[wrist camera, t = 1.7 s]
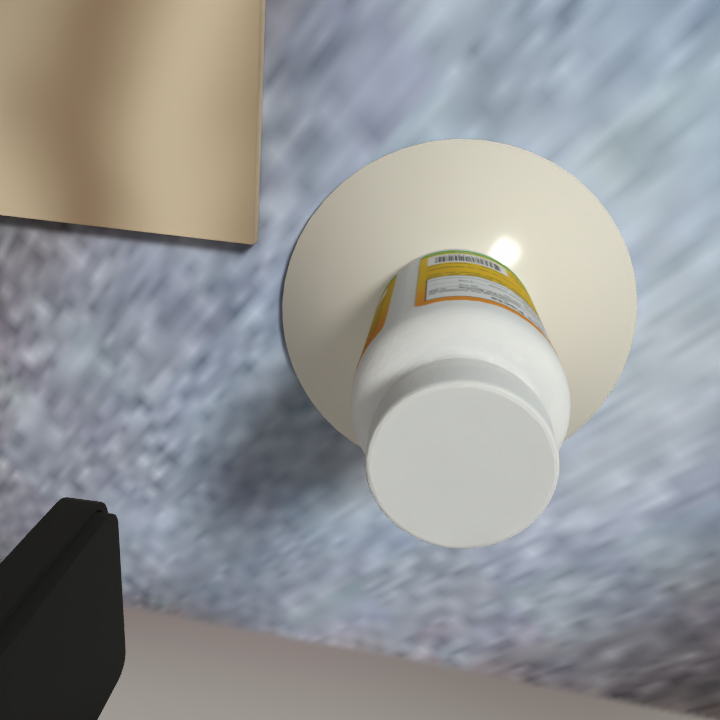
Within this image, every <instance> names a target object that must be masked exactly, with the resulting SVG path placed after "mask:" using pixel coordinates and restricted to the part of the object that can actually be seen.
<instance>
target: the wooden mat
mask: <svg viewBox="0 0 720 720" xmlns="http://www.w3.org/2000/svg"><path fill="white" fill-rule="evenodd" d="M264 30H265V0H0V215H5V216H13V217H22V218H30V219H39V220H47V221H56V222H64V223H73V224H81V225H90V226H98V227H107V228H116V229H124V230H133V231H141V232H150V233H158V234H167V235H175V236H184V237H192V238H201V239H209V240H218V241H226V242H235V243H243V244H252V245H253V244H255V243H256V242H257V241H258V219H259V187H260V156H261V125H262V93H263V62H264Z"/></svg>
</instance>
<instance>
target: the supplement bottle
mask: <svg viewBox="0 0 720 720" xmlns="http://www.w3.org/2000/svg"><path fill="white" fill-rule="evenodd" d="M570 408H571V404H570V392H569V387H568V382H567V379H566V376H565V373H564V369H563V367H562V364H561V362H560V359H559V357H558V355H557V353H556V351H555V349H554V347H553V345H552V343H551V341H550V339H549V337H548V335H547V333H546V330H545V328H544V326H543V324H542V322H541V320H540V318H539V315H538V313H537V311H536V309H535V306H534V304H533V302H532V300H531V298H530V296H529V294H528V292H527V290H526V288H525V287H524V285H523V283H522V282H521V280H520V279H519V278H518V277H517V276H516V274H515V273H514V272H513V271H512V270H511V269H510V268H508V267H507V266H506V265H504V264H503V263H501V262H500V261H498V260H497V259H495V258H493V257H491V256H489V255H486V254H484V253H481V252H477V251H473V250H468V249H443V250H438V251H434V252H430V253H427V254H425V255H422V256H420V257H418V258H416V259H414V260H412V261H411V262H409V263H408V264H407V265H405V266H404V267H403V268H401V269H400V270H399V271H398V272H397V273H396V274H395V275H394V276H393V278H392V279H391V280H390V281H389V283H388V284H387V286H386V287H385V289H384V291H383V293H382V295H381V297H380V299H379V302H378V304H377V307H376V310H375V314H374V317H373V320H372V323H371V327H370V330H369V333H368V336H367V339H366V342H365V345H364V348H363V351H362V354H361V357H360V360H359V362H358V365H357V368H356V372H355V376H354V381H353V386H352V393H351V418H352V424H353V428H354V431H355V434H356V437H357V440H358V443H359V445H360V447H361V449H362V451H363V452H364V454H365V468H366V476H367V481H368V484H369V487H370V490H371V493H372V495H373V497H374V499H375V501H376V503H377V504H378V506H379V507H380V509H381V510H382V511H383V512H384V514H385V515H386V516H387V517H388V518H389V519H390V520H391V521H392V522H393V523H394V524H395V525H396V526H397V527H399V528H400V529H402V530H403V531H405V532H406V533H408V534H410V535H411V536H413V537H416V538H418V539H420V540H422V541H425V542H427V543H431V544H434V545H438V546H443V547H450V548H476V547H483V546H488V545H493V544H496V543H499V542H501V541H504V540H507V539H509V538H511V537H513V536H515V535H516V534H518V533H520V532H521V531H523V530H524V529H525V528H527V527H528V526H529V525H531V524H532V523H533V522H534V521H535V520H536V519H537V518H538V517H539V516H540V515H541V513H542V512H543V511H544V510H545V508H546V507H547V505H548V503H549V502H550V500H551V498H552V496H553V493H554V491H555V488H556V485H557V481H558V475H559V454H558V452H559V450H560V448H561V446H562V444H563V442H564V439H565V436H566V433H567V430H568V426H569V420H570Z"/></svg>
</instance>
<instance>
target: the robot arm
mask: <svg viewBox="0 0 720 720" xmlns="http://www.w3.org/2000/svg"><path fill="white" fill-rule="evenodd" d="M124 661H125V634H124V616H123V599H122V581H121V564H120V546H119V529H118V519H117V517H116V515H114V514H110V513H108V510H107V507H106V505H105V504H104V503H102V502H97V501H90V500H82V499H75V498H68V497H66V498H62V499H61V500H59V501H58V502H57V503H56V504H55V505H54V506H53V507H52V508H51V509H50V510H49V512H48V513H47V514H46V515H45V516H44V517H43V518H42V519H41V520H40V521H39V522H38V523H37V525H36V526H35V527H34V528H33V529H32V530H31V531H30V532H29V533H28V534H27V535H26V536H25V538H24V539H23V540H22V541H21V542H20V543H19V544H18V545H17V546H16V547H15V548H14V549H13V551H12V552H11V553H10V554H9V555H8V556H7V557H6V558H5V559H4V560H3V561H2V562H1V564H0V720H97V719H98V717H99V715H100V714H101V712H102V710H103V708H104V706H105V704H106V702H107V700H108V699H109V697H110V695H111V693H112V691H113V689H114V687H115V685H116V683H117V682H118V680H119V677H120V675H121V672H122V669H123V666H124Z"/></svg>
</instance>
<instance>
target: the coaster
mask: <svg viewBox="0 0 720 720" xmlns="http://www.w3.org/2000/svg"><path fill="white" fill-rule="evenodd" d="M443 249H468V250H473V251H477V252H481V253H484V254H486V255H489V256H491V257H493V258H495V259H497V260H498V261H500V262H501V263H503V264H504V265H506V266H507V267H508V268H510V269H511V270H512V271H513V272H514V273H515V274H516V276H517V277H518V278H519V279H520V280H521V282H522V283H523V285H524V287H525V288H526V290H527V292H528V294H529V296H530V298H531V300H532V302H533V304H534V306H535V309H536V311H537V313H538V315H539V318H540V320H541V322H542V324H543V326H544V328H545V330H546V333H547V335H548V337H549V339H550V341H551V343H552V345H553V347H554V349H555V351H556V353H557V355H558V357H559V359H560V362H561V364H562V367H563V369H564V373H565V376H566V379H567V382H568V387H569V392H570V404H571V408H570V420H569V426H568V430H567V433H566V436H565V439H564V440H566V439H567V438H569V437H570V436H572V435H573V434H574V433H575V432H576V431H577V430H578V429H579V428H581V427H582V426H583V425H584V424H585V423H586V422H587V421H588V420H589V419H590V418H591V417H592V416H593V415H594V414H595V412H596V411H597V410H598V409H599V408H600V407H601V406H602V404H603V403H604V401H605V400H606V398H607V397H608V395H609V394H610V393H611V391H612V390H613V388H614V387H615V385H616V383H617V381H618V379H619V377H620V375H621V373H622V371H623V369H624V367H625V364H626V361H627V358H628V355H629V352H630V349H631V346H632V342H633V337H634V331H635V326H636V314H637V293H636V283H635V276H634V272H633V267H632V263H631V259H630V255H629V253H628V250H627V248H626V245H625V243H624V241H623V238H622V236H621V233H620V231H619V230H618V228H617V226H616V225H615V223H614V221H613V220H612V218H611V216H610V215H609V213H608V212H607V210H606V209H605V208H604V207H603V206H602V204H601V203H600V202H599V201H598V199H597V198H596V197H595V196H594V195H593V193H592V192H590V191H589V190H588V189H587V188H586V187H585V186H584V185H583V184H582V183H581V182H579V181H578V180H577V179H576V178H575V177H574V176H572V175H571V174H569V173H568V172H566V171H565V170H563V169H562V168H560V167H559V166H558V165H556V164H555V163H553V162H551V161H549V160H547V159H545V158H543V157H540V156H538V155H536V154H534V153H532V152H530V151H527V150H524V149H521V148H518V147H514V146H511V145H508V144H504V143H498V142H493V141H487V140H480V139H448V140H439V141H430V142H426V143H422V144H418V145H414V146H409V147H406V148H403V149H401V150H398V151H396V152H393V153H390V154H388V155H385V156H383V157H381V158H379V159H377V160H376V161H374V162H372V163H370V164H368V165H367V166H365V167H363V168H361V169H360V170H359V171H357V172H356V173H355V174H353V175H352V176H351V177H349V178H348V179H347V180H345V181H344V182H343V183H341V184H340V185H339V186H338V187H337V188H336V189H335V190H334V191H333V192H332V193H331V194H330V195H329V196H328V197H327V198H326V199H325V200H324V201H323V203H322V204H321V205H320V207H319V208H318V209H317V211H316V212H315V213H314V214H313V216H312V217H311V218H310V220H309V222H308V223H307V225H306V227H305V229H304V230H303V232H302V234H301V236H300V237H299V239H298V242H297V244H296V247H295V249H294V251H293V254H292V256H291V259H290V262H289V266H288V270H287V274H286V278H285V284H284V292H283V301H282V309H283V328H284V335H285V341H286V346H287V349H288V353H289V356H290V360H291V363H292V366H293V368H294V370H295V372H296V375H297V377H298V379H299V382H300V384H301V385H302V387H303V389H304V390H305V392H306V394H307V395H308V397H309V399H310V400H311V402H312V403H313V404H314V405H315V407H316V408H317V409H318V410H319V412H320V413H321V414H322V415H323V417H324V418H325V419H326V420H327V421H328V422H329V423H330V424H331V425H332V426H333V427H334V428H335V429H336V430H337V431H339V432H340V433H341V434H342V435H344V436H345V437H346V438H348V439H349V440H350V441H352V442H353V443H354V444H356V445H357V446H359V447H360V445H359V443H358V440H357V437H356V434H355V431H354V428H353V424H352V418H351V393H352V386H353V381H354V376H355V372H356V368H357V365H358V362H359V360H360V357H361V354H362V351H363V348H364V345H365V342H366V339H367V336H368V333H369V330H370V327H371V323H372V320H373V317H374V314H375V310H376V307H377V304H378V302H379V299H380V297H381V295H382V293H383V291H384V289H385V287H386V286H387V284H388V283H389V281H390V280H391V279H392V278H393V276H394V275H395V274H396V273H397V272H398V271H399V270H400V269H401V268H403V267H404V266H405V265H407V264H408V263H409V262H411V261H412V260H414V259H416V258H418V257H420V256H422V255H425V254H427V253H430V252H434V251H438V250H443Z"/></svg>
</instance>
